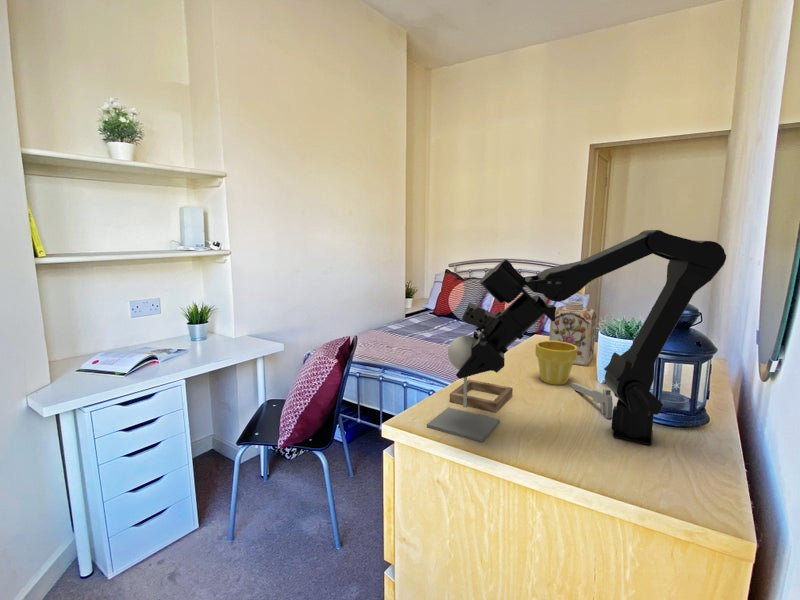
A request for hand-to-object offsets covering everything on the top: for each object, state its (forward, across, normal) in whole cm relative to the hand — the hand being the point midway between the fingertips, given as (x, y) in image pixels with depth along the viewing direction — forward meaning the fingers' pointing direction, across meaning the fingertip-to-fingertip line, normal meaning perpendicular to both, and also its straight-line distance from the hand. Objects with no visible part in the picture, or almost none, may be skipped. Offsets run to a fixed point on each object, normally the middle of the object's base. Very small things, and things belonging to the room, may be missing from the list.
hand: (458, 371), depth 86 cm
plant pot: (-8, -31, +25) cm, 41 cm away
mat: (+7, 0, +9) cm, 11 cm away
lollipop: (+5, 0, +6) cm, 8 cm away
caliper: (-12, -19, +29) cm, 37 cm away
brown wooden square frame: (+5, -15, +11) cm, 19 cm away
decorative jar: (-13, -53, +30) cm, 62 cm away
